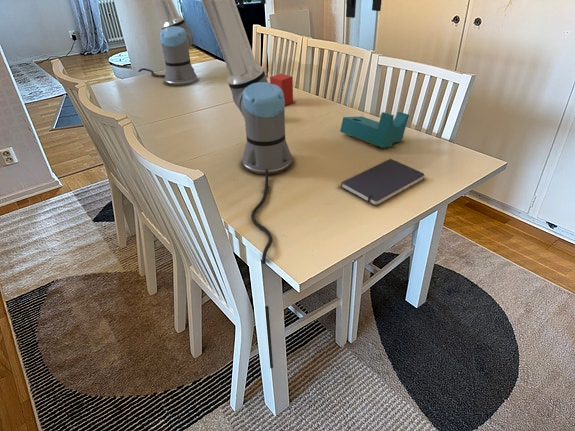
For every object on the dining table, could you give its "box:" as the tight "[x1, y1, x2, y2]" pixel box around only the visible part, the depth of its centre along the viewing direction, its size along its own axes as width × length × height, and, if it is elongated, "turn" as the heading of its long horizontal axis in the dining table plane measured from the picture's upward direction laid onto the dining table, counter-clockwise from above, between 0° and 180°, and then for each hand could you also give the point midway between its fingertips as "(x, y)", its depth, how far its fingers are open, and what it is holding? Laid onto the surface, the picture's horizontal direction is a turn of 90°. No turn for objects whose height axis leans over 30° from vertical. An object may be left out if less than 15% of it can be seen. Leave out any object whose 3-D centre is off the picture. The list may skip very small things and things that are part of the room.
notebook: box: [340, 158, 425, 206], centre depth 114 cm, size 13×2×21 cm
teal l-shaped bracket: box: [339, 111, 410, 149], centre depth 136 cm, size 18×11×10 cm, turn 43°
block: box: [269, 73, 294, 106], centre depth 166 cm, size 7×6×11 cm
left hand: (252, 5), depth 190 cm, fingers open, 13 cm apart
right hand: (363, 13), depth 123 cm, fingers open, 13 cm apart
